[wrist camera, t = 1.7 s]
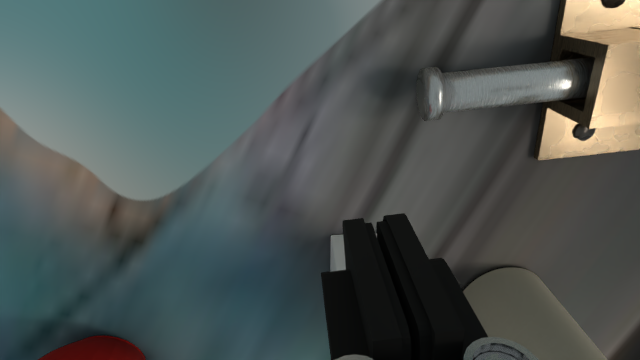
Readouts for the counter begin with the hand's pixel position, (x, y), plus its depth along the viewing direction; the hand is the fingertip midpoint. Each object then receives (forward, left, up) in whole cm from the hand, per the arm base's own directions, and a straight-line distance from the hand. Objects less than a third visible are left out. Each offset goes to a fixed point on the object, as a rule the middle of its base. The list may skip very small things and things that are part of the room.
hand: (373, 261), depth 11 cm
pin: (-14, 0, -18) cm, 23 cm away
